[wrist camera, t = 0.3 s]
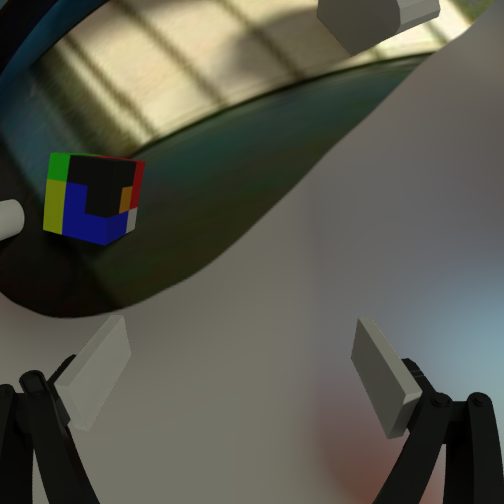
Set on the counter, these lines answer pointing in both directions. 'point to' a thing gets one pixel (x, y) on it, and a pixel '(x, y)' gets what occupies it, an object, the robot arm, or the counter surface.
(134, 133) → the counter surface
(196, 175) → the counter surface
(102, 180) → the puzzle toy
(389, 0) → the soap bottle
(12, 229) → the can
